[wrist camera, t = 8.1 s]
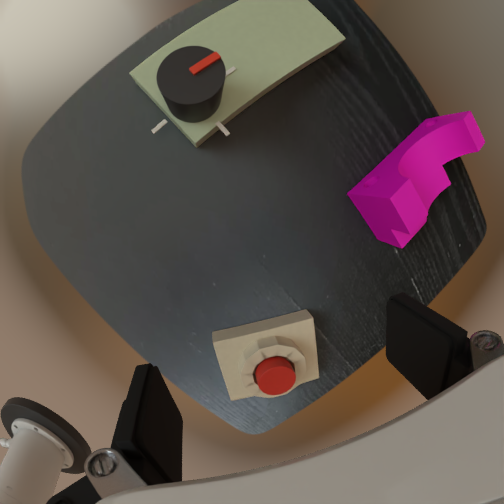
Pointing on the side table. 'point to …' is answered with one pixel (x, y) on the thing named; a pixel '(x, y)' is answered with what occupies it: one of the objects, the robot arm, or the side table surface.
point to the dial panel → (246, 55)
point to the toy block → (414, 176)
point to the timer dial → (192, 82)
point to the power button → (275, 376)
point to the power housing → (266, 351)
